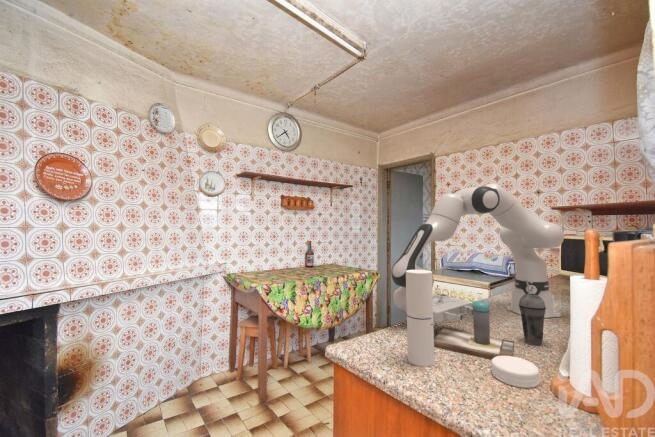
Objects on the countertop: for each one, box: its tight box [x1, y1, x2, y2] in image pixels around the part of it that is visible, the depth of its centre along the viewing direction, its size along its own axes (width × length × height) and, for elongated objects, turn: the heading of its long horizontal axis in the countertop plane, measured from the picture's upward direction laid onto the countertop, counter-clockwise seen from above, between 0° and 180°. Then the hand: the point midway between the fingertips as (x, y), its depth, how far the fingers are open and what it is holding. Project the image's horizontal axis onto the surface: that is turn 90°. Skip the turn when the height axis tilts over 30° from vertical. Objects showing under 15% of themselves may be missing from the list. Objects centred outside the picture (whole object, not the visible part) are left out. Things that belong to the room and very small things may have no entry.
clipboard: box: [434, 327, 515, 361], centre depth 90 cm, size 15×22×2 cm
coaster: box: [490, 356, 540, 389], centre depth 71 cm, size 10×10×4 cm
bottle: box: [472, 300, 491, 345], centre depth 89 cm, size 5×5×12 cm
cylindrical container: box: [406, 269, 435, 368], centre depth 81 cm, size 7×7×25 cm
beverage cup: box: [519, 280, 546, 346], centre depth 92 cm, size 7×7×20 cm
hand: (469, 315), depth 92 cm, fingers open, 8 cm apart
